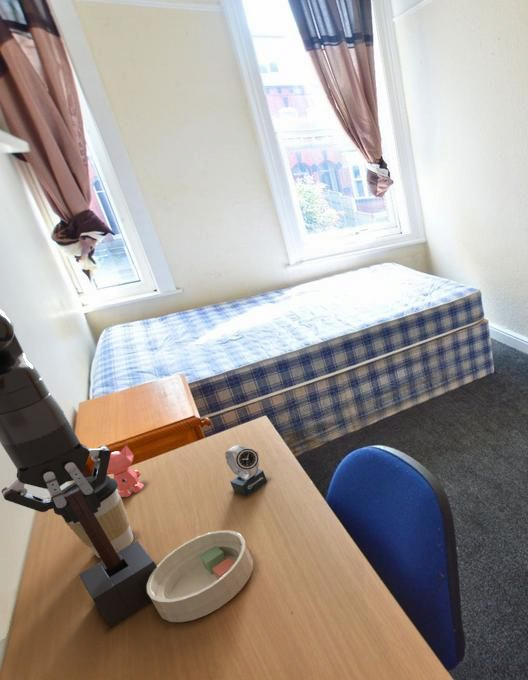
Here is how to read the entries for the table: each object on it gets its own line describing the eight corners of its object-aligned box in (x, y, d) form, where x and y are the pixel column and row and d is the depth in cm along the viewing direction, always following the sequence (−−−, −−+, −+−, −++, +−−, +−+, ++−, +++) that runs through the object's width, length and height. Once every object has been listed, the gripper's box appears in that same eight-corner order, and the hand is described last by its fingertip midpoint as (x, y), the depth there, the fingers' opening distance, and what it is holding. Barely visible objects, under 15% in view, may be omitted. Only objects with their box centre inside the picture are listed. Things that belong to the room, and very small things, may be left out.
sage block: (211, 575, 87) (206, 563, 86) (204, 567, 88) (199, 556, 87) (228, 563, 89) (223, 552, 88) (221, 556, 91) (216, 545, 89)
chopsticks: (107, 569, 81) (64, 497, 74) (105, 566, 81) (62, 494, 75) (121, 561, 82) (80, 490, 76) (119, 558, 83) (78, 487, 76)
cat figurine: (146, 478, 117) (126, 438, 112) (152, 489, 113) (131, 448, 108) (111, 493, 113) (89, 452, 108) (116, 506, 108) (93, 464, 103)
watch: (252, 498, 106) (236, 459, 102) (229, 490, 110) (213, 452, 106) (272, 482, 111) (258, 444, 107) (250, 475, 114) (236, 438, 110)
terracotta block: (224, 588, 84) (218, 576, 83) (217, 580, 86) (211, 568, 84) (241, 576, 86) (236, 564, 85) (234, 568, 88) (228, 557, 86)
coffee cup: (134, 521, 103) (105, 466, 97) (151, 539, 97) (121, 482, 91) (78, 552, 96) (43, 495, 90) (93, 574, 90) (56, 514, 84)
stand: (110, 628, 79) (92, 599, 76) (96, 602, 84) (78, 574, 81) (168, 589, 85) (153, 561, 83) (151, 567, 91) (137, 540, 88)
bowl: (178, 641, 76) (165, 619, 74) (146, 596, 84) (133, 574, 82) (269, 573, 87) (260, 552, 84) (232, 539, 95) (223, 519, 93)
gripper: (-29, 461, 63) (35, 554, 70) (96, 412, 73) (141, 498, 80) (-35, 444, 68) (25, 534, 75) (83, 400, 77) (127, 483, 84)
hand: (85, 515), depth 77 cm, fingers closed on chopsticks
